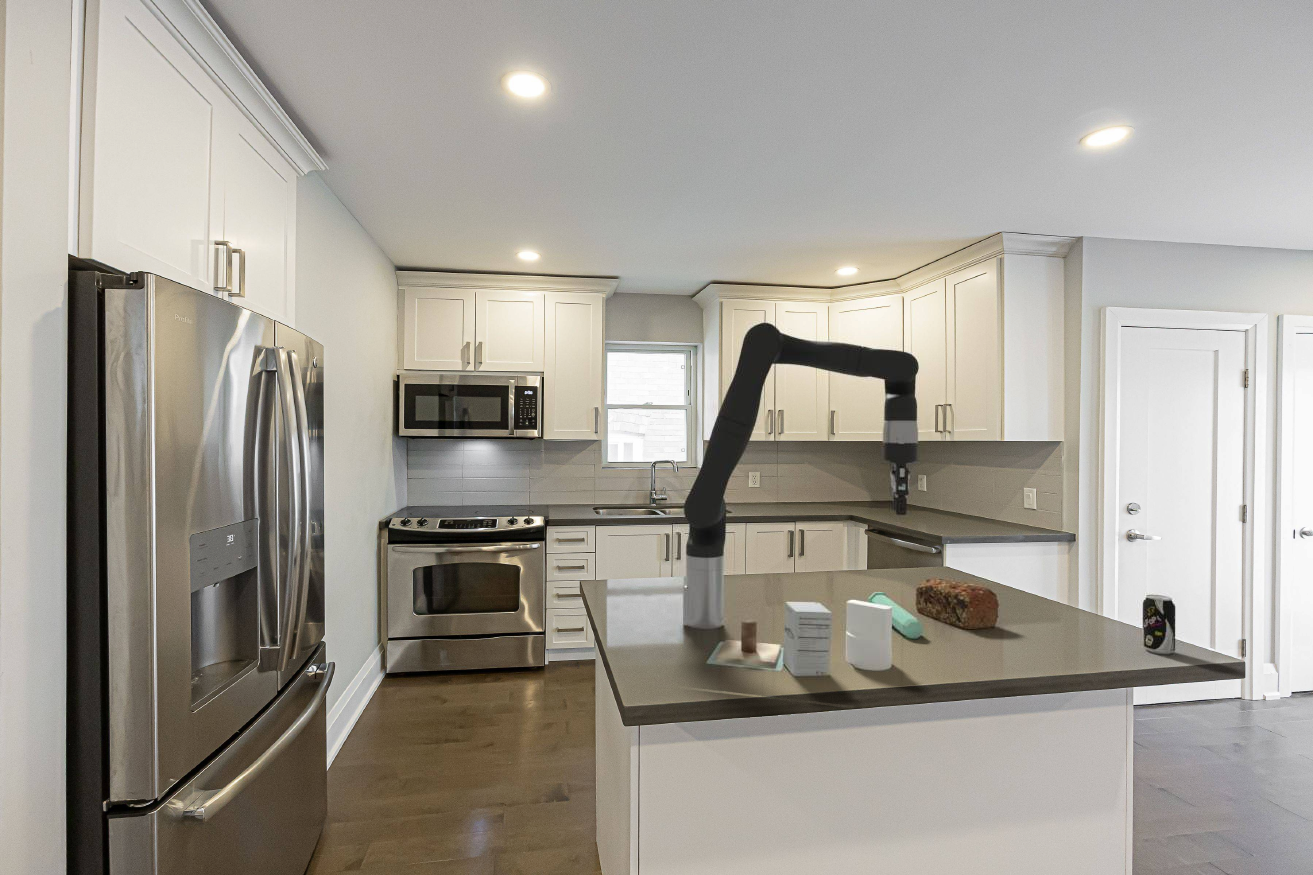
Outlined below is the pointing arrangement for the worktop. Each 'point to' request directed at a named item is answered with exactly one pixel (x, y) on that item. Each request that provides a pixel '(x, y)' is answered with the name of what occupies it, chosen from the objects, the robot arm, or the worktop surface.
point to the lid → (748, 648)
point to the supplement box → (807, 638)
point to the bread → (957, 603)
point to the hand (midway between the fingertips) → (899, 512)
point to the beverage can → (1158, 624)
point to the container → (899, 616)
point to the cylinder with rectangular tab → (868, 635)
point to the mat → (777, 667)
